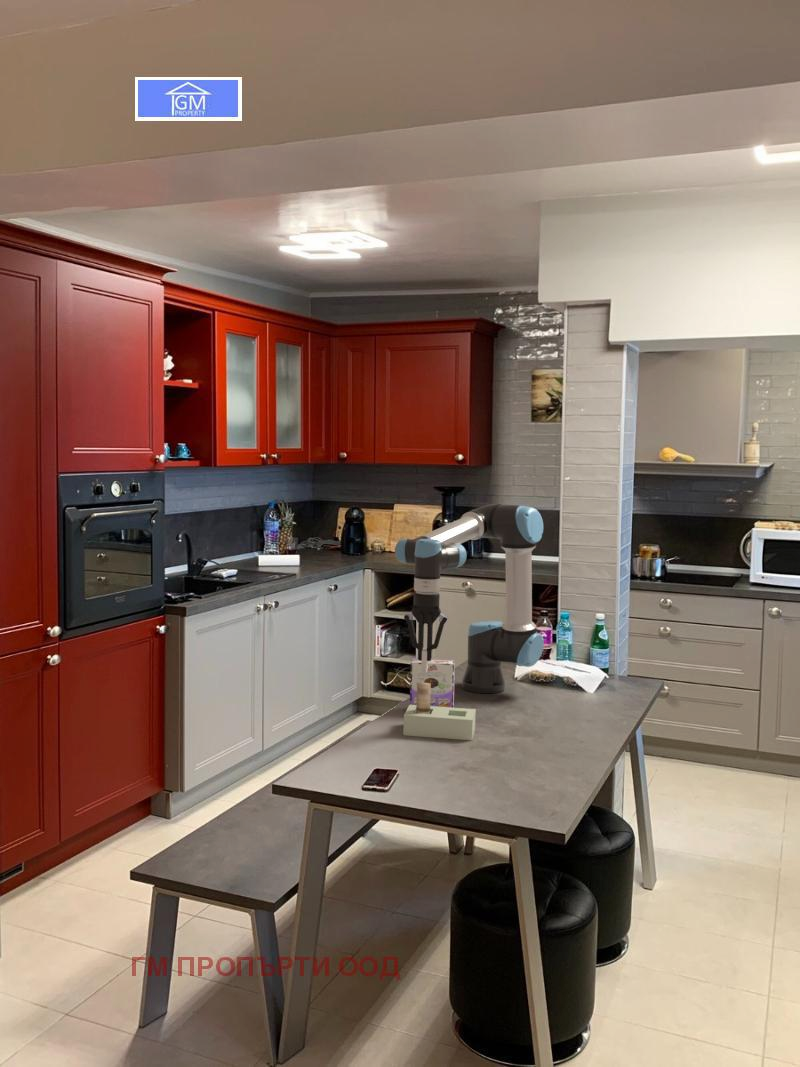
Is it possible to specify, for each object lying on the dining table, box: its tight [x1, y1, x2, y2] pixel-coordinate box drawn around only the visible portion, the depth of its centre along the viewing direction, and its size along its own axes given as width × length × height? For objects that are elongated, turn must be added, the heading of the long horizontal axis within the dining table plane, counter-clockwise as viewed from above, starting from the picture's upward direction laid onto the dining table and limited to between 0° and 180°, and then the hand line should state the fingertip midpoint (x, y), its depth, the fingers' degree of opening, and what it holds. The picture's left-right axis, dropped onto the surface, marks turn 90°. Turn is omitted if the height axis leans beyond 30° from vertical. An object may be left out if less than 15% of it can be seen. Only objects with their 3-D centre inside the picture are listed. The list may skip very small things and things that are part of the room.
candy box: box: [409, 658, 455, 708], centre depth 300 cm, size 14×6×16 cm, turn 84°
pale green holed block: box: [402, 704, 477, 741], centre depth 281 cm, size 11×20×6 cm, turn 81°
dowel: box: [416, 683, 431, 714], centre depth 281 cm, size 4×4×14 cm
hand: (424, 671), depth 280 cm, fingers closed
